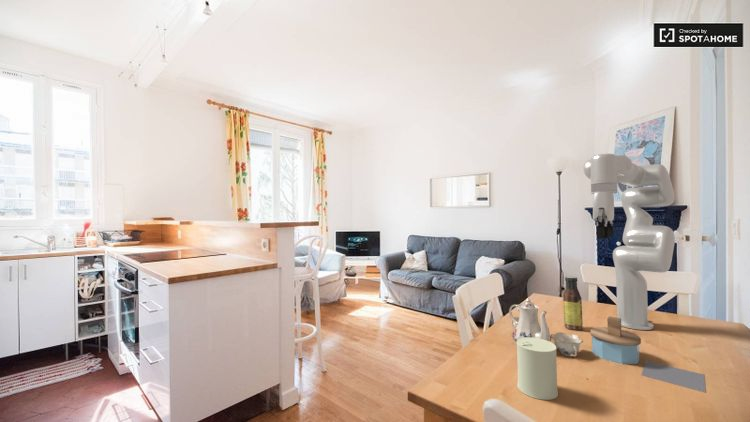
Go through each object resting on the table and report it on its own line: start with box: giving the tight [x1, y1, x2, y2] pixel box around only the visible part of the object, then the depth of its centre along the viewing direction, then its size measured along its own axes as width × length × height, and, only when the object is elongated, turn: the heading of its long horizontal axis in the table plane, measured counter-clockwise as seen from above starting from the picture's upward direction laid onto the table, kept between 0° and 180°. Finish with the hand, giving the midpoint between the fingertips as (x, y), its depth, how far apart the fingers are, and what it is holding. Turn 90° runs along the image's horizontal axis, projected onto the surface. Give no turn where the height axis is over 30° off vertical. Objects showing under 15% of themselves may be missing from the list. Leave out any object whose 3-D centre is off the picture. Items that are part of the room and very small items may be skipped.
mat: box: [641, 360, 707, 393], centre depth 84 cm, size 12×12×1 cm
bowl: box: [591, 335, 640, 365], centre depth 96 cm, size 11×11×6 cm
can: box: [516, 337, 559, 401], centre depth 79 cm, size 9×9×12 cm
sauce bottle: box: [562, 275, 584, 331], centre depth 122 cm, size 7×6×20 cm
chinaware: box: [508, 298, 584, 357], centre depth 106 cm, size 28×17×17 cm, turn 23°
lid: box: [590, 315, 642, 346], centre depth 96 cm, size 12×12×6 cm
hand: (605, 237), depth 110 cm, fingers open, 9 cm apart
